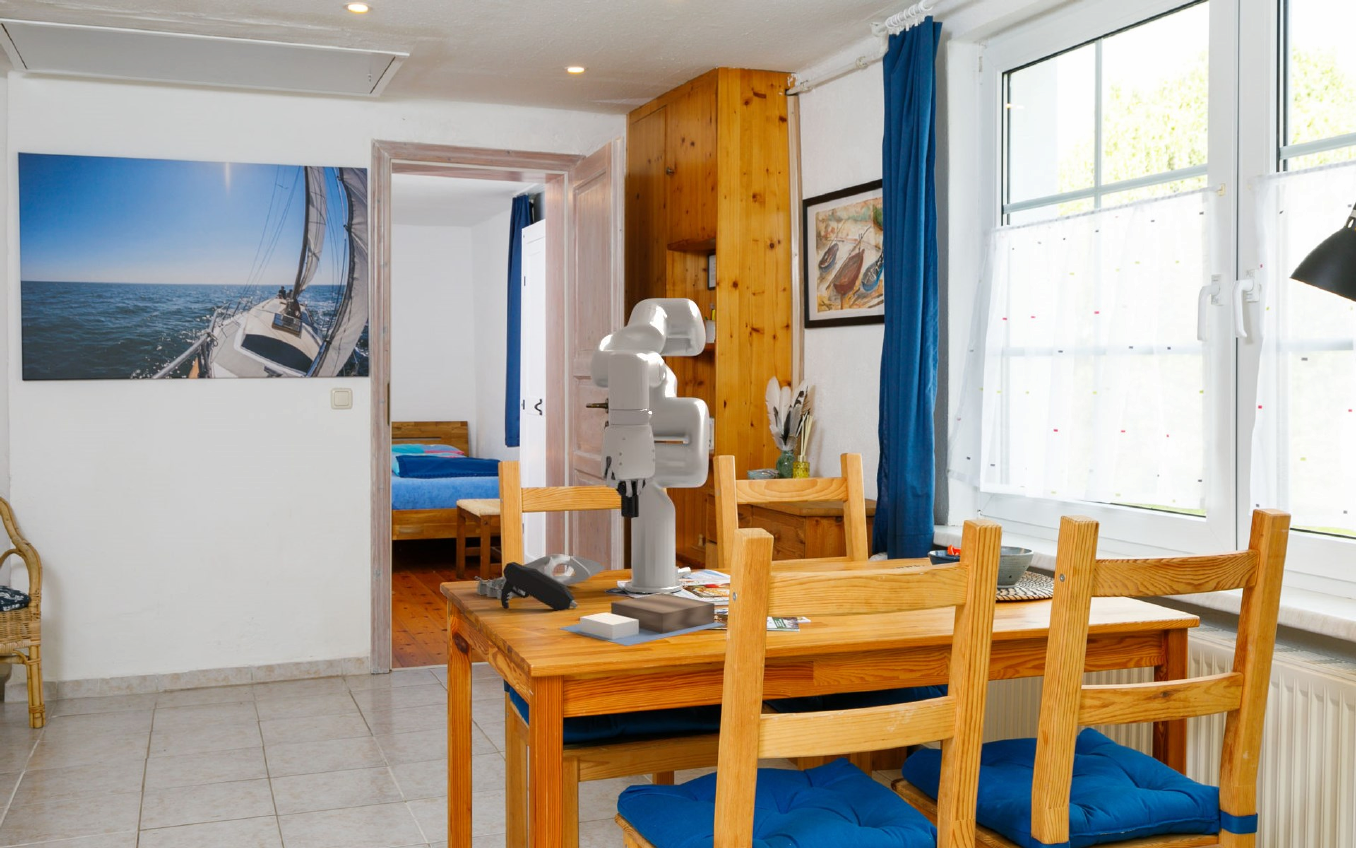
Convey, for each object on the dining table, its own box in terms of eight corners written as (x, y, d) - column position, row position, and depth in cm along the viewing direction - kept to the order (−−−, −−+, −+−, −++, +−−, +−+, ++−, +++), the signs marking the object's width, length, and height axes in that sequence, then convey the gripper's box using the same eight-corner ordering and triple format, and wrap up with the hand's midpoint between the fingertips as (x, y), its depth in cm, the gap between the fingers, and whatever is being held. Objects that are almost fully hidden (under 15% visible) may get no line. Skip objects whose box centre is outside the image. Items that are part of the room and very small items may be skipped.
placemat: (655, 611, 217) (655, 609, 217) (726, 626, 204) (726, 624, 204) (557, 630, 201) (557, 628, 201) (627, 648, 187) (627, 645, 187)
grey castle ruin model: (472, 595, 237) (471, 575, 237) (501, 590, 242) (501, 571, 242) (501, 601, 229) (500, 581, 229) (530, 596, 235) (530, 577, 234)
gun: (557, 640, 218) (580, 596, 217) (487, 599, 221) (509, 555, 219) (561, 637, 221) (584, 593, 220) (492, 597, 223) (514, 553, 222)
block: (662, 611, 215) (662, 593, 215) (714, 622, 205) (714, 603, 205) (611, 621, 206) (611, 602, 206) (662, 633, 196) (662, 613, 196)
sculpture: (558, 595, 236) (558, 565, 236) (500, 583, 250) (500, 555, 249) (619, 584, 248) (619, 556, 248) (561, 574, 262) (561, 547, 262)
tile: (579, 617, 198) (580, 631, 198) (612, 625, 192) (612, 639, 192) (606, 612, 202) (606, 626, 203) (638, 619, 196) (638, 634, 196)
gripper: (645, 415, 215) (645, 510, 216) (584, 420, 204) (586, 519, 206) (672, 417, 209) (672, 514, 211) (611, 422, 199) (612, 524, 200)
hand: (630, 516), depth 208 cm, fingers closed
